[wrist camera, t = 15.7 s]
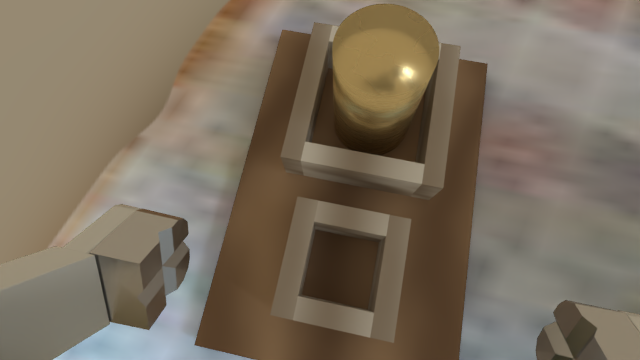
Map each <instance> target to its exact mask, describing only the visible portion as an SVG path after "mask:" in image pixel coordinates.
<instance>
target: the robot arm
mask: <svg viewBox="0 0 640 360" xmlns="http://www.w3.org/2000/svg"><path fill="white" fill-rule="evenodd" d="M187 235H188V224H187V221H186V220H185V219H183V218H180V217H175V216H171V215H167V214H163V213H159V212H154V211H150V210H146V209H140V208H136V207H132V206H128V205H123V204H120V205H115V206H114V207H112V208H111V209H110V210H109V211H107V212H106V213H105V214H104V215H102V216H101V217H100V218H99V219H97V220H96V221H95V222H94V223H93V224H91V225H90V226H89V227H88V228H86V229H85V230H84V231H83V232H81V233H80V234H79V235H78V236H76V237H75V238H74V239H73V240H72V241H70V242H69V243H68V244H67V245H65V246H64V247H63V248H61V247H57V246H55V247H52V248H48V249H45V250H42V251H40V252H36V253H33V254H30V255H27V256H24V257H21V258H18V259H15V260H12V261H9V262H6V263H3V264H0V360H52V359H54V358H56V357H57V356H59V355H61V354H62V353H64V352H65V351H67V350H69V349H70V348H72V347H74V346H75V345H77V344H78V343H80V342H82V341H83V340H85V339H86V338H88V337H90V336H91V335H93V334H95V333H96V332H98V331H99V330H101V329H103V328H104V327H106V326H108V325H109V324H110V322H113V323H118V324H123V325H128V326H132V327H137V328H142V329H147V330H149V329H150V328H151V326H152V325H153V324H154V322H155V321H156V319H157V318H158V316H159V315H160V314H161V312H162V311H163V309H164V308H165V306H166V295H167V294H169V293H171V292H173V291H175V290H177V289H178V287H179V286H180V284H181V283H182V281H183V280H184V277H185V274H186V272H187V269H188V265H189V259H190V254H189V248H188V247H187V246H186V244H185V243H184V242H183V240H184V239H185V238H186V236H187ZM553 314H554V317H555V320H556V322H554V323H552V324H550V325H547V326H545V327H544V328H543V329H542V331H541V333H540V335H539V336H538V338H537V346H536V356H537V360H640V314H635V313H630V312H624V311H619V310H618V311H615V310H611V309H607V308H602V307H597V306H592V305H587V304H582V303H578V302H573V301H568V300H565V301H563V302H562V303H560V304H559V305H558V306H557V308H556V309H555V311H554V312H553Z"/></svg>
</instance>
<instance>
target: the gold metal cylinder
mask: <svg viewBox="0 0 640 360" xmlns="http://www.w3.org/2000/svg"><path fill="white" fill-rule="evenodd" d="M332 55H333V98H334V127H335V131H336V134H337V136H338V138H339V139H340V141H341V142H342V143H343V144H344V145H345V146H346V147H347V148H349V149H350V150H352V151H358V152H363V153H368V154H373V155H382V154H385V153H387V152H390V151H391V150H393V149H394V148H396V147H397V146H398V145H399V144H400V143H401V142H402V140H403V139H404V137H405V135H406V133H407V130H408V128H409V126H410V124H411V121H412V119H413V117H414V115H415V112H416V110H417V108H418V106H419V103H420V101H421V99H422V97H423V94H424V92H425V90H426V88H427V85H428V83H429V81H430V79H431V76H432V74H433V72H434V70H435V67H436V65H437V62H438V58H439V42H438V39H437V35H436V33H435V31H434V29H433V28H432V26H431V25H430V24H429V23H428V21H427V20H426V19H424V18H423V17H422V16H421V15H419V14H418V13H417V12H415V11H413V10H411V9H408V8H406V7H403V6H399V5H394V4H376V5H371V6H367V7H364V8H362V9H359V10H357V11H356V12H354V13H352V14H351V15H350V16H348V17H347V18H346V19H345V20H344V21H343V22H342V23H341V25H340V26H339V28H338V29H337V31H336V34H335V36H334V40H333V46H332Z"/></svg>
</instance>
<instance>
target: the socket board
mask: <svg viewBox="0 0 640 360" xmlns="http://www.w3.org/2000/svg"><path fill="white" fill-rule="evenodd" d="M338 28H339V26H333V25H327V24H321V23H315V22H314V26H313V30H312V34H305V33H299V32H293V31H287V30H282V33H281V36H280V40H279V44H278V47H277V51H276V54H275V58H274V61H273V65H272V69H271V72H270V76H269V79H268V83H267V87H266V90H265V94H264V97H263V101H262V104H261V108H260V112H259V115H258V119H257V122H256V126H255V130H254V133H253V137H252V140H251V144H250V148H249V151H248V155H247V158H246V162H245V165H244V169H243V173H242V176H241V180H240V183H239V187H238V191H237V194H236V198H235V201H234V205H233V208H232V212H231V216H230V219H229V223H228V226H227V230H226V234H225V237H224V241H223V244H222V248H221V252H220V255H219V259H218V262H217V266H216V269H215V273H214V277H213V280H212V284H211V287H210V291H209V295H208V298H207V302H206V305H205V309H204V312H203V316H202V320H201V323H200V327H199V330H198V334H197V338H196V341H195V345H196V346H201V347H205V348H209V349H213V350H218V351H222V352H226V353H230V354H234V355H239V356H243V357H247V358H251V359H256V360H459V351H460V341H461V331H462V320H463V310H464V300H465V289H466V279H467V269H468V259H469V248H470V238H471V228H472V217H473V207H474V197H475V186H476V176H477V166H478V156H479V145H480V135H481V125H482V114H483V104H484V94H485V84H486V73H487V64H485V63H479V62H473V61H467V60H461V59H459V55H460V47H461V46H455V45H449V44H443V43H439V58H438V62H437V65H436V67H435V70H434V72H433V74H432V76H431V79H430V81H429V83H428V85H427V88H426V90H425V92H424V94H423V97H422V99H421V101H420V103H419V106H418V108H417V110H416V112H415V115H414V117H413V119H412V121H411V124H410V126H409V128H408V130H407V133H406V135H405V137H404V139H403V140H402V142H401V143H400V144H399V145H398V146H397V147H396V148H394V149H393V150H391V151H390V152H387V153H385V154H382V155H373V154H368V153H363V152H358V151H352V150H350V149H349V148H347V147H346V146H345V145H344V144H343V143H342V142H341V141H340V139H339V138H338V136H337V134H336V131H335V127H334V98H333V55H332V46H333V40H334V36H335V34H336V31H337V29H338Z"/></svg>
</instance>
